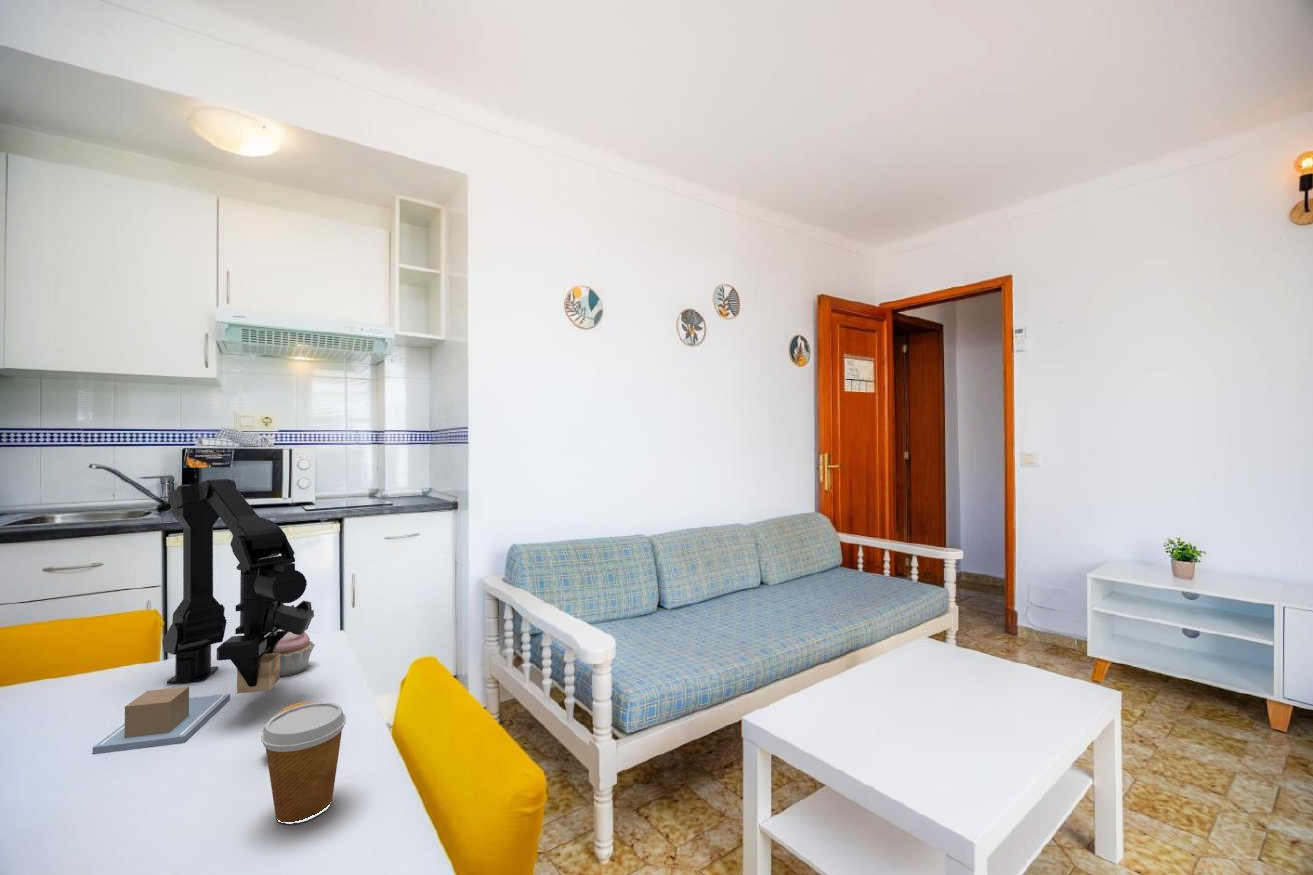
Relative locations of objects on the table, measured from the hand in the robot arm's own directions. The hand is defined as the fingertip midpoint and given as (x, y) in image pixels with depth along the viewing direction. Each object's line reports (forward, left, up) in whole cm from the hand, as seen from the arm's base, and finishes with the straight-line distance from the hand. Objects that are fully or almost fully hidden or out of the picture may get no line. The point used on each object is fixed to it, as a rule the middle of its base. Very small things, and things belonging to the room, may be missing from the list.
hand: (258, 680), depth 103 cm
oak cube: (0, 0, -1) cm, 1 cm away
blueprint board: (+4, -12, -4) cm, 13 cm away
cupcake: (-16, 0, -5) cm, 17 cm away
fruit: (+20, +12, -5) cm, 24 cm away
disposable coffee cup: (+36, +18, -5) cm, 40 cm away
